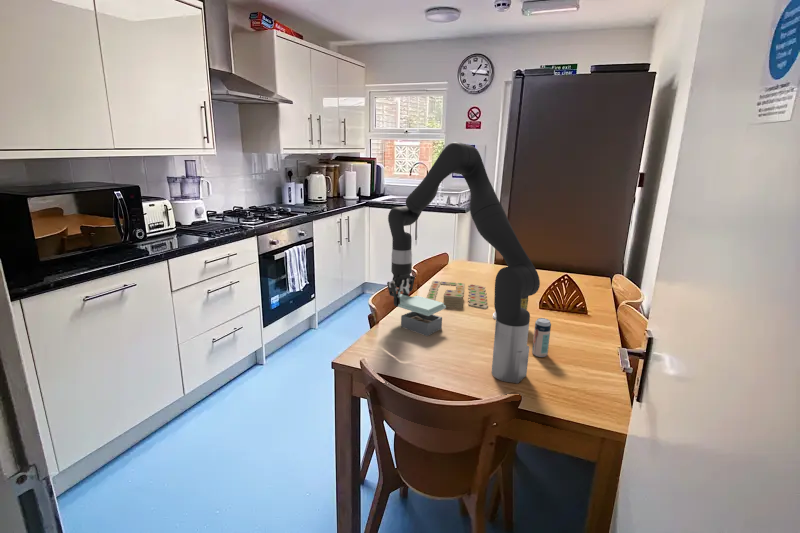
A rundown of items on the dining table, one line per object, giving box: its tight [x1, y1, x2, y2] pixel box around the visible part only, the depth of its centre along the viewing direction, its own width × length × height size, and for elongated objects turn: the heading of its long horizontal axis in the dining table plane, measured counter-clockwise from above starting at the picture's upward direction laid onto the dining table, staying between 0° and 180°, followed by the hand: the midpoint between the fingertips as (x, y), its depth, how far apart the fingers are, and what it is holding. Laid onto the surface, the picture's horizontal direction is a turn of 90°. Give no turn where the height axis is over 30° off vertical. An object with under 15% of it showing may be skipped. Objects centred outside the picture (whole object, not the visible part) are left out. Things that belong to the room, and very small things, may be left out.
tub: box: [400, 311, 443, 337], centre depth 153 cm, size 12×9×5 cm
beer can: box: [531, 317, 552, 358], centre depth 134 cm, size 5×5×12 cm
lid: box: [398, 293, 447, 316], centre depth 153 cm, size 18×11×2 cm, turn 50°
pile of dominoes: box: [425, 280, 489, 310], centre depth 192 cm, size 35×27×6 cm
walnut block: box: [411, 316, 423, 322], centre depth 155 cm, size 4×4×3 cm
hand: (401, 304), depth 158 cm, fingers closed on lid, 4 cm apart
